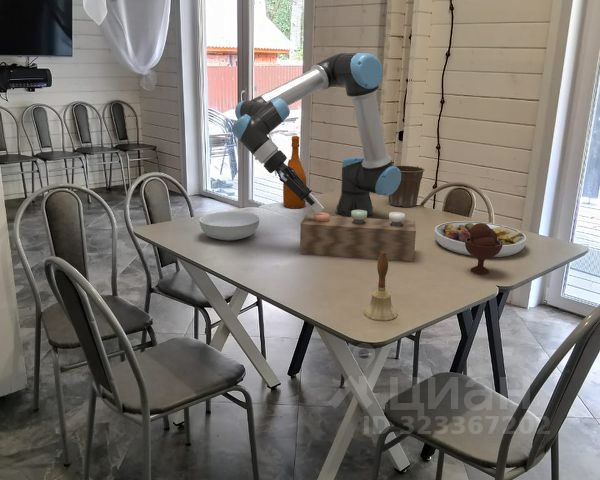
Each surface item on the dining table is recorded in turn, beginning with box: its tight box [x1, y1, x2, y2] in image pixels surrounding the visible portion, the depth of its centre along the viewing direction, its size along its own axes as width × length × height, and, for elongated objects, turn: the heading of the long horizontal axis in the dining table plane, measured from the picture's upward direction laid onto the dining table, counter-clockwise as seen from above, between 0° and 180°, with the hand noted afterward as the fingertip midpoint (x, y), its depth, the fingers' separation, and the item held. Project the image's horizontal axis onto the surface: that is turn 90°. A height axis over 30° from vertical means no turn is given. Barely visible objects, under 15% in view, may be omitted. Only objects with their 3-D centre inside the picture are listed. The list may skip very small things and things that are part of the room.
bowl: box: [434, 220, 527, 258], centre depth 195 cm, size 30×30×8 cm
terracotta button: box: [313, 211, 331, 222], centre depth 186 cm, size 5×5×6 cm
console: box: [299, 214, 417, 263], centre depth 185 cm, size 36×12×10 cm, turn 80°
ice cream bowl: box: [465, 223, 503, 276], centre depth 169 cm, size 11×11×15 cm
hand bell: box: [363, 252, 398, 322], centre depth 139 cm, size 8×8×16 cm
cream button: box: [388, 211, 406, 227], centre depth 182 cm, size 5×5×6 cm
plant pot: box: [388, 165, 425, 208], centre depth 250 cm, size 16×16×16 cm
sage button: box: [351, 210, 368, 224], centre depth 184 cm, size 5×5×6 cm
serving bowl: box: [198, 210, 260, 242], centre depth 200 cm, size 21×21×7 cm
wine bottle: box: [282, 135, 307, 209], centre depth 241 cm, size 10×10×30 cm
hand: (320, 210), depth 185 cm, fingers closed
